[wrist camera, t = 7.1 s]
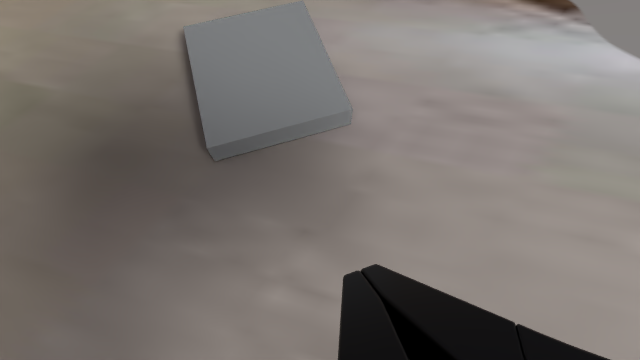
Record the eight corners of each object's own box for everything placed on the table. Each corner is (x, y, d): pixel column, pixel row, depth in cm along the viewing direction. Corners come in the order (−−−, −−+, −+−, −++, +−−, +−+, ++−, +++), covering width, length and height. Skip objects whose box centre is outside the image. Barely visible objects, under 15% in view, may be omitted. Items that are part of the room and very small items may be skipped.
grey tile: (352, 109, 22) (302, 0, 27) (206, 148, 21) (183, 26, 26) (350, 126, 24) (304, 21, 29) (216, 163, 23) (192, 46, 28)
